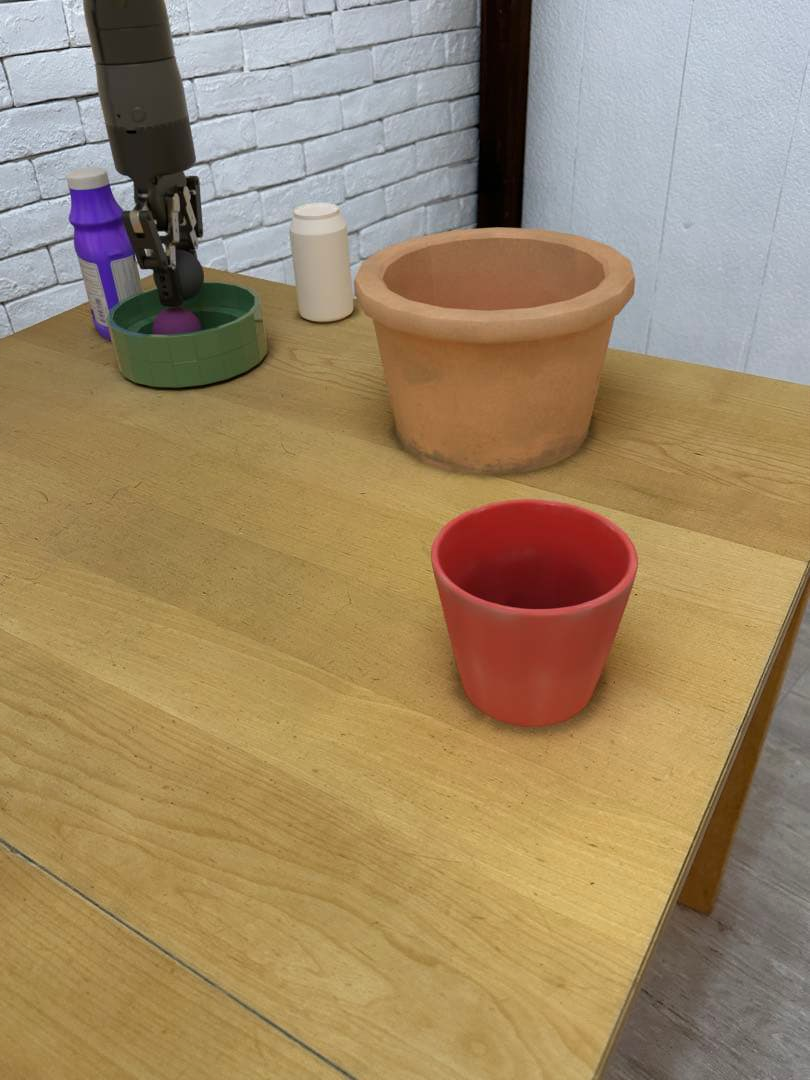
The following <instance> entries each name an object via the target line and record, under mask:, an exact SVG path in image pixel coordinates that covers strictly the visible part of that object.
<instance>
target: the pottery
mask: <svg viewBox="0 0 810 1080" xmlns="http://www.w3.org/2000/svg"><path fill="white" fill-rule="evenodd" d="M635 286H636V278H635V272H634V269H633V266H632V262H631V259H629V258H628V257H627V256H625V255H624V254H622V253H621V252H620V251H618V250H617V249H616V248H614V247H612V246H611V245H609V244H606V243H604V242H603V243H602V242H600V241H597V240H594V239H591V238H588V237H585V236H581V235H578V234H574V233H567V232H561V231H554V230H547V229H543V228H542V229H541V228H524V227H523V228H522V227H497V226H495V227H483V228H482V227H481V228H480V227H479V228H467V229H466V228H465V229H454V230H448V231H443V232H438V233H432V234H426V235H421V236H416V237H413V238H410V239H407V240H404V241H402V242H401V241H400V242H398V243H395V244H392V245H390V246H386V247H384V248H382V249H381V250H378V252H376V253H374V254H373V255H371V256H369V257H368V258H366V259H365V260H363V261H362V262H361V264H360V266H359V267H358V271H357V273H356V275H355V277H354V279H353V289H354V296H355V298H356V300H357V303H358V304H359V305H360V307H361V309H362V311H363V313H364V315H365V316H367V317H369V318H370V319H372V323H373V326H374V331H375V336H376V341H377V346H378V349H379V354H380V355H379V356H380V360H381V365H382V369H383V373H384V377H385V383H386V387H387V392H388V393H387V394H388V397H389V401H390V406H391V412H392V416H393V421H394V425H395V434H396V436H397V437H398V439H399V442H400V444H401V445H402V446H401V447H402V448H403V449H404V450H405V451H407V452H408V453H410V454H411V455H413V456H414V457H415V458H417V459H418V460H419V461H421V462H422V463H425V464H428V465H431V466H434V467H437V468H440V469H444V470H446V471H449V472H452V473H462V474H468V475H469V474H471V475H478V476H479V475H480V476H487V477H489V476H501V475H514V474H516V475H517V474H525V473H528V472H529V473H530V472H532V471H536V470H539V469H543V468H547V467H550V466H555V465H556V464H558V463H560V462H561V461H563V460H564V459H567V458H568V457H570V456H572V455H573V454H575V453H576V452H578V451H579V449H580V448H581V446H582V445H583V443H584V442H585V440H586V439H587V437H589V428H590V424H591V420H592V416H593V411H594V407H595V403H596V399H597V395H598V390H599V386H600V382H601V378H602V374H603V370H604V369H603V368H604V365H605V361H606V356H607V352H608V348H609V343H610V341H611V340H610V339H611V335H612V331H613V327H614V323H615V319H616V316H618V315H620V313H621V312H622V311H623V310H624V308H625V307H626V305H627V304H628V303H629V302H630V300H631V299H632V298H633V296H634V294H635Z"/></svg>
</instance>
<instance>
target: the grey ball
mask: <svg viewBox="0 0 810 1080" xmlns="http://www.w3.org/2000/svg"><path fill="white" fill-rule="evenodd" d="M175 253H176V268H177V269H178V274H179V279H180V284H181V289H182V294H183V299H184V301H185V300H189V299H191V298H193V297H194V296H196V295H197V294H198V293H199V291H200V290H201V288H202V286H203V282H204V281H205V273H204V272H205V271H204V268H203V266H202V264H201V262H200V261H199V258H198V257H197V258H196V257H195V256H194V255H192V254H191V253H189V252H187V251H184V250H179V249H175ZM165 254H166V251H165ZM152 277H153V282H154V285H155V286H156V287H157V284H156V279H155V275H154V271H153V270H152Z"/></svg>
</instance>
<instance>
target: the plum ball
mask: <svg viewBox="0 0 810 1080" xmlns="http://www.w3.org/2000/svg"><path fill="white" fill-rule="evenodd" d="M198 331H202V327H201V324H200V322H199V320H198V318H197V317H196V316H195V315H194V314H193V313H192V312H191V311H189V310H187V309H185V308H182V307H170V308H167V309H165V310H163V311H161V312H160V313H159V314H158V315H157V317H156V318H155V320H154V322H153V326H152V335H173V334H183V333H193V332H198Z"/></svg>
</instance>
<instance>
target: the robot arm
mask: <svg viewBox="0 0 810 1080" xmlns="http://www.w3.org/2000/svg"><path fill="white" fill-rule="evenodd" d="M82 7H83V14H84V15H83V16H84V21H85V26H86V29H87V35H88V38H89V43H90V47H91V48H90V49H91V52H92V57H93V61H94V68H95V75H96V86H97V92H98V97H99V102H100V106H101V107H100V108H101V111H102V115H103V116H102V117H103V119H104V120H103V121H104V125H105V129H106V134H107V138H108V143H109V148H110V151H111V156H112V160H113V165H114V168H115V171H116V172H117V173H118V174H120V175H121V176H124V177H126V176H127V177H128V178H129V179H131V181H132V182H133V185H132V186H133V201H134V207H133V209H131V210H123V212H122V221H123V224H124V226H125V229H126V232H127V234H128V237H129V240H130V243H131V245H132V248H133V251H134V253H135V258H136V262H137V265H138V268H139V269H140V270H147V271H148V270H150V271H151V270H152V272H153V271H154V275H155V279H156V284H157V289H158V294H159V298H160V303H161V304H162V305H163V306H165V307H179V306H180V305H181V304H182V303H183V302H184V299H183V294H182V289H181V284H180V279H179V274H178V269H177V268H176V253H175V249H179V250H184V251H187V252H189V253H191V254H192V255H194V256H195V257H196V258H197V259H198V253H197V250H198V248H199V240H198V239H203V237H204V222H203V209H202V196H201V184H200V183H201V181H200V178H199V176H198V175H186V174H185V171H188V170H190V169H191V168H193V167H194V166H195V165H196V162H197V157H196V150H195V144H194V137H193V133H192V128H191V123H190V116H189V110H188V104H187V98H186V93H185V87H184V83H183V79H182V75H181V72H180V69H179V65H178V61H177V57H176V56H175V55H176V52H175V45H174V41H173V40H174V39H173V35H172V29H171V24H170V23H171V22H170V17H169V13H168V9H167V5H166V2H165V0H82ZM160 232H161V233H162V232H163V233H166V234H165V235H160V234H159V233H160ZM165 252H166V254H165Z"/></svg>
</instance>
